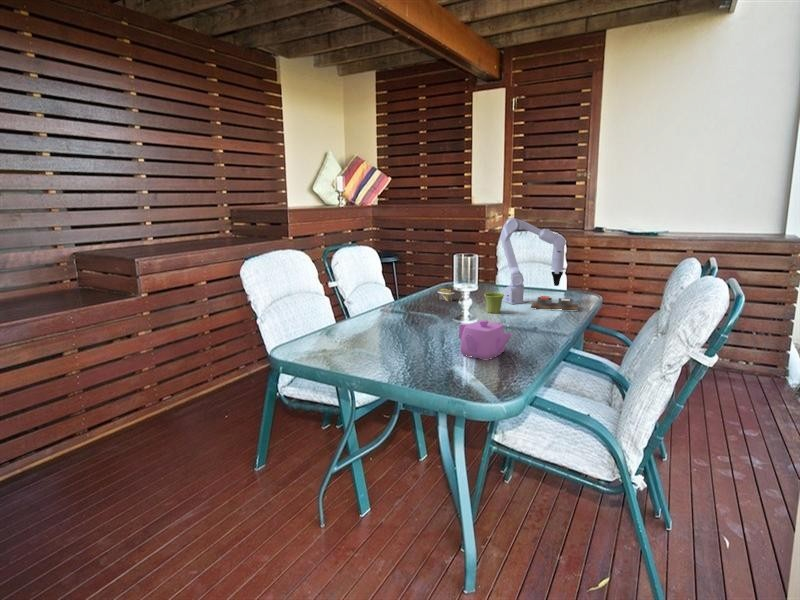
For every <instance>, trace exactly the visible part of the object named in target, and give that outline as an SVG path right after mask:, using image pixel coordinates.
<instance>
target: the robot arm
mask: <svg viewBox="0 0 800 600" xmlns="http://www.w3.org/2000/svg"><path fill="white" fill-rule="evenodd" d="M502 226H503V227H502V229H501V232H500V237H499V238H500V241H501V244H502V247H503V251H504V254H505V258H506V260H507V264H508V268H509V272H510V281H511V282H510V284H509V285H508V286H506V287H505V289H504V296H503V299H504V300H503V302H504V303H507V304H511V305H517V304H525V302H526V303H527V301H526V300H524V288H525V284H524V281H525V280H524V275H523V273H522V272H521V271H520V269H519V265H518V262H517V258H516V255H515V253H514V248H513V246H512V242H511V236H512V235H513V234H514V233H515V231H517V230H526V231H528V232H530V233H532V234H535V235H537V236H538V238H539V240H541V241H543V242H545V243H548V244H550V245H553V247H552V256H551V268H550V269H551V275H552V279H553V285H554V287H559V286H560V282H561V278H562V276H563V274H564V271H566V268H565V267H564V263H565V246H566V244H567V242H566V239H565V237H563V236H562V235H559V233H557V232H556V233H555V232H553V231H551V229H549V228H543V229H540V228H538V227H536V226H535V225H532V224H531V223H529V222H527V221H524V220H521V219H517V218H515V217H509V218H508V219H507V220H506V221H505V222H504V223H503V225H502Z"/></svg>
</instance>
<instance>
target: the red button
mask: <svg viewBox="0 0 800 600" xmlns="http://www.w3.org/2000/svg"><path fill="white" fill-rule="evenodd" d="M539 297H540V299H542V300H549V298H550V296H549V295H540V296H539Z"/></svg>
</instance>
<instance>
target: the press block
mask: <svg viewBox="0 0 800 600" xmlns="http://www.w3.org/2000/svg"><path fill="white" fill-rule="evenodd" d="M561 299H566V298H564V297H560V298H558V301H557V302H552V301H553V298H552V297H549V300H542V299H540V296H537V301H532V303H531V305H530V309H531V308H536V309H535V310H539V309H562V310H578V311H579V304H578V303H573V302H574V301H573V299H574V298H569V299H570V301H561Z"/></svg>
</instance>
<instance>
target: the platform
mask: <svg viewBox="0 0 800 600" xmlns="http://www.w3.org/2000/svg"><path fill="white" fill-rule="evenodd" d="M437 293H438V294H439V295H438V296H439V297H438V298H439V300H441V301H443V300H444V301H446V302H453V295H455V292H454V291H451V289H448V288H440V290H437Z"/></svg>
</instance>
